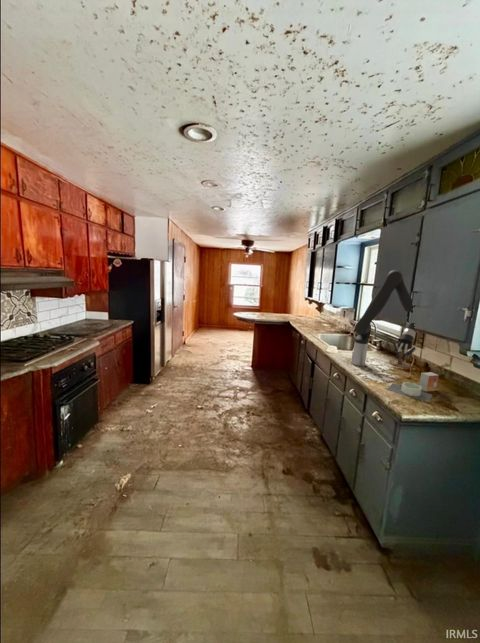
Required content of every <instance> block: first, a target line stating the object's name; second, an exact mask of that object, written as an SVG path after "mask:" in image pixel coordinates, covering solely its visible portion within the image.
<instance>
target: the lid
mask: <svg viewBox="0 0 480 643" xmlns="http://www.w3.org/2000/svg"><path fill="white" fill-rule="evenodd" d="M403 353H404V352H402V351H401V352H400V353H399V357H398V359H397V360H394V359H393V360H392V359H391V360H390V361H389V365H391V366H393V367H396V368H399V369H410V368H411V364H410V363H408V362H405V361H404V359H403V360H402V356H403Z"/></svg>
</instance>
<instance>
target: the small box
mask: <svg viewBox="0 0 480 643" xmlns="http://www.w3.org/2000/svg"><path fill="white" fill-rule="evenodd" d="M439 376H440V375H439V374H438V373H435V372H433V371H429V372H421V373H420V379H419V384H418V385H420V386H421V387H422V391H423V392H435V391H437V386H438V382H439V378H440V377H439Z"/></svg>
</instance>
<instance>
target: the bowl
mask: <svg viewBox="0 0 480 643" xmlns="http://www.w3.org/2000/svg"><path fill="white" fill-rule="evenodd" d="M401 386H402V387H401V391H402V392H403V393H404V394H406V395H409V396H414V397H418V396H420V395H421V392H423V390H422V387H421V386H420V385H419V384H418V383H414V382H408V381H407V382H405V381H403V382H402V383H401ZM409 396H408V397H409Z"/></svg>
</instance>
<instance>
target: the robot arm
mask: <svg viewBox="0 0 480 643" xmlns="http://www.w3.org/2000/svg"><path fill="white" fill-rule="evenodd" d="M394 290H395V292H396V293H397V297H398V299H399V301H400V304H401V306H402V308H403V310H404V312H406V313H407V312H408V313H410V314H411V313H413V310H412V309H413V306H412V300H413V298H412V296H411V294H410V292H409V291H408V289H407V286H406V284H405V282H404V277H403V273H402V272H401V271H400V270H399V269H392V270H390V271H389V272H388V273H387V275H386V278H385V281H384V282H383V284H382V286H381V288H380V289H379V290H378V291H377V293H376V294H375V295H374V297H373V298H372V299H371V301H370V303H369V305H368V306H367V308H366V309H365V312H364V313H363V315H362V316H361V317H360V319H359V320H358V321H357V323H356V324H355V325H354V331H355V333H356V334H357V336H356V337H355V338H354V346H353V351H352V355H351V361H350V364H352V365H354V366H359V367H365V366H366V360H367V355H368V354H367V352H368V348H369V347H368V346H369V341H370V337H371V333H372V332H371V331H372V325H371V324H372V321H373V320H374V319H375V318H376V317H377V316H378V315H379V314H380V313H381V312H382V310H383V309H384V308H385V307H386V304H387V303H388V301H389V299H390V297H391V295H392V293H393V291H394ZM414 324H415V323H409V321H408V317H405V327H404V329H403V331H402V333H401V336H400V339H399V342H397V343H396V342H394V343H392V344H393V349H394V351H395V353H396V355H395V357H396V359H397V360H398V357H399V353H400V352H401V353H403V356H402V360H403V361H404V360H405V359H406V357H407V356H411V355H412V354H413V353H414V352H415V351H416V346H413V343H414V341H415V338H416V333H417V330H418V329H417V330H415V328H414V327H415V326H414ZM397 347H398V348H397ZM402 351H403V352H402Z"/></svg>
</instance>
